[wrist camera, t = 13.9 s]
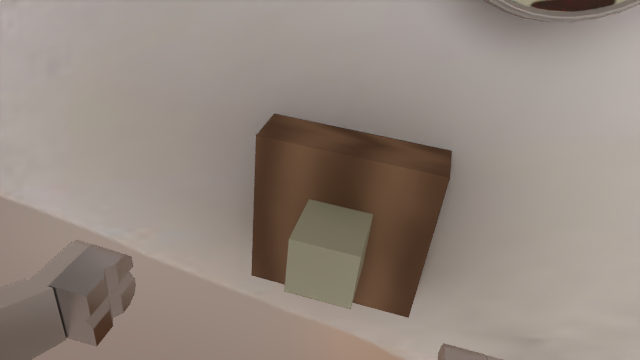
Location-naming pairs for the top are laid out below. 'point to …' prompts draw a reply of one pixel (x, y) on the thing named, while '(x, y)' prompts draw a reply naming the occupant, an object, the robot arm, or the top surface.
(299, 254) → the sage block
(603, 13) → the food container
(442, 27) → the top surface
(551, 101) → the top surface
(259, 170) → the walnut base
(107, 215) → the top surface
